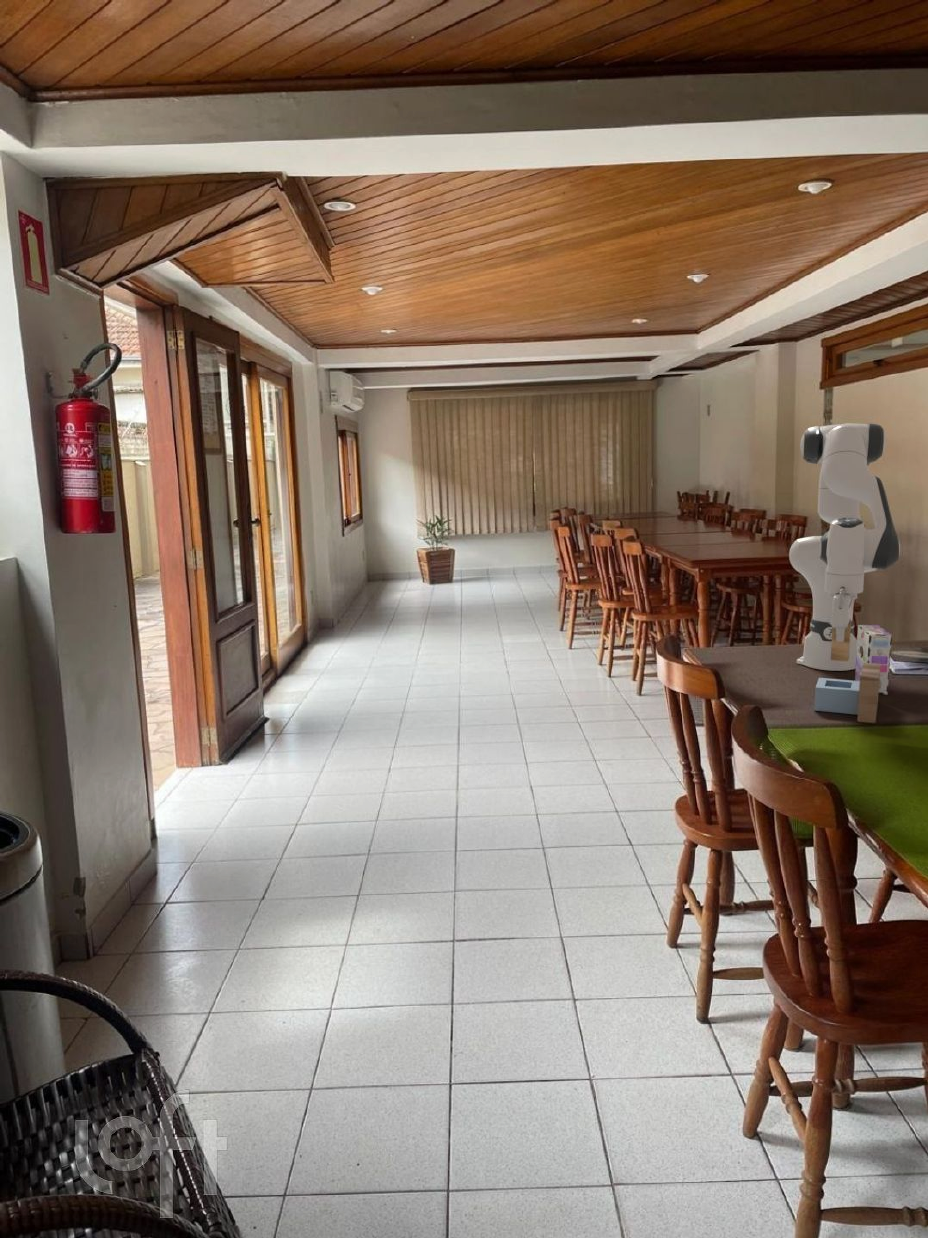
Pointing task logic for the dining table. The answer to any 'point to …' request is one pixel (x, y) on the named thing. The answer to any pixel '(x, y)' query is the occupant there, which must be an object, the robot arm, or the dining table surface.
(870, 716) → the wall
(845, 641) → the tan wooden block
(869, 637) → the candy box
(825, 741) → the dining table surface
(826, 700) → the socket block
